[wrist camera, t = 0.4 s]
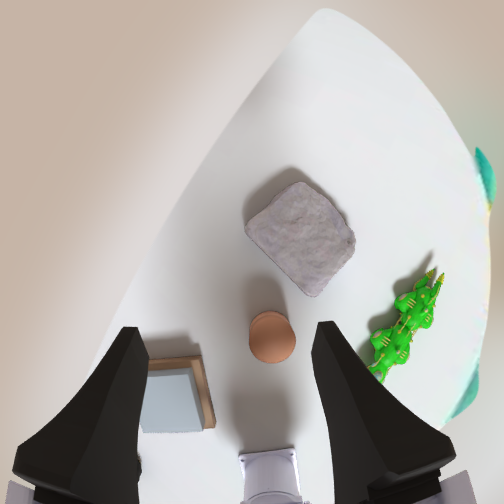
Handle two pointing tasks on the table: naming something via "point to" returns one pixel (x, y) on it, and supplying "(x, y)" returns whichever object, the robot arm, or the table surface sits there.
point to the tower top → (171, 402)
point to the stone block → (303, 236)
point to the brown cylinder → (271, 337)
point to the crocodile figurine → (404, 326)
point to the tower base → (199, 379)
